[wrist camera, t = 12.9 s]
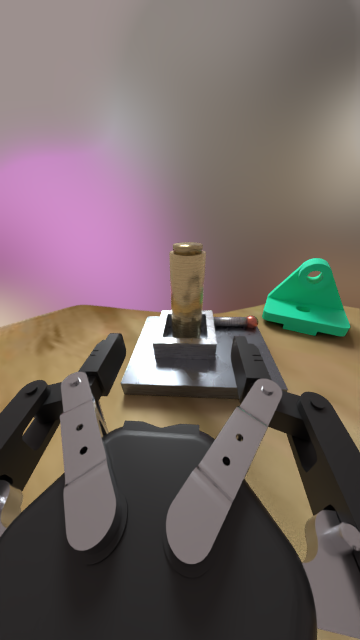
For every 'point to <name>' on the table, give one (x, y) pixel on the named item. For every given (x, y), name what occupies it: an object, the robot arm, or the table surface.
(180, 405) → the table surface
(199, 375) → the dock
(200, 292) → the brass cylinder peg
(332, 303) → the camera mount
